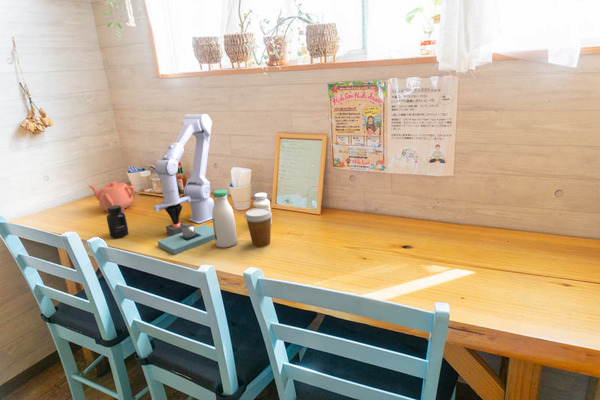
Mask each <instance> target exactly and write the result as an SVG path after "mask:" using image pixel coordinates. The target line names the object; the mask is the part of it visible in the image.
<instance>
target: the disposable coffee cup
mask: <svg viewBox="0 0 600 400" xmlns="http://www.w3.org/2000/svg"><path fill="white" fill-rule="evenodd" d="M272 216H273V213H272V210H271V211H270V209H268V208H254V207H253V208H251V209H249V210H247V211H246V212H245V215H244V218H245V220H246V223H247V227H248V231H249V235H250V238H251V243H252V246H253V247H256V248H257V247H258V248H262V247H266V246H269V245H270V244H271V229H272V228H271V227H272V224H271V218H272Z"/></svg>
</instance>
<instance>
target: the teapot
mask: <svg viewBox="0 0 600 400" xmlns="http://www.w3.org/2000/svg"><path fill="white" fill-rule="evenodd" d="M88 187H89V188H91V190H92V191H93V193H94V196H95V198H96V200H97V201H99V207H100V208H101V209H102V210H103V211H105V213H106V214H109V213H108V209H107V208H108V207H110V206H115V205H119V206H121V209H122V211H121V212H123V213H125V211H126V208H131V207H132V204H133V201H134V194H135V192H136V186H134V185H128V184H127V183H125V182H117V181H110V182H109V183H108V184H106V185H104V186H102V187H101V189H100V190H98V188H97V187H96V186H95V185H88ZM130 206H131V207H130Z"/></svg>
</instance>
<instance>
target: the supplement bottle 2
mask: <svg viewBox="0 0 600 400" xmlns="http://www.w3.org/2000/svg"><path fill="white" fill-rule="evenodd" d="M267 197H268V195H267V193H266V192H257V193H255V194H254V199H255V200H254V201H253V204H252V205H253V209H254V208H268V209H270V211H271V212H272V209H271V201H270V200H269V199H268V198H267ZM272 224H273V220H272V217H271V225H272Z"/></svg>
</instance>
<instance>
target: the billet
mask: <svg viewBox="0 0 600 400" xmlns="http://www.w3.org/2000/svg"><path fill="white" fill-rule="evenodd" d="M195 228H196V227H195V224H193V223H191V224H190V223H188V224H186V225H184V226H182V232H183V238H184V240H186V241H189V240H191V239H194V238H196V235H195Z"/></svg>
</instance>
